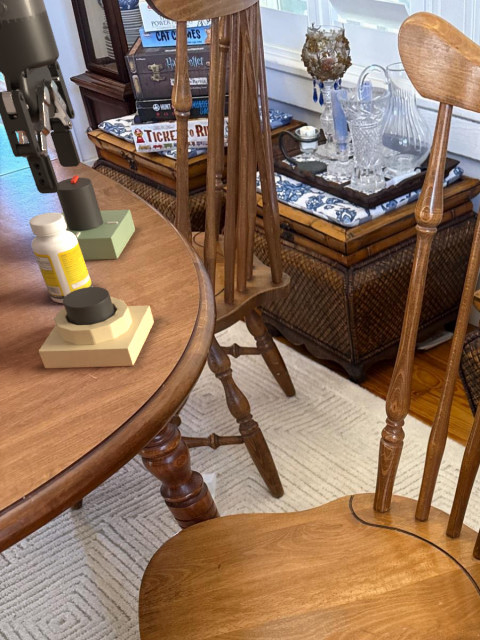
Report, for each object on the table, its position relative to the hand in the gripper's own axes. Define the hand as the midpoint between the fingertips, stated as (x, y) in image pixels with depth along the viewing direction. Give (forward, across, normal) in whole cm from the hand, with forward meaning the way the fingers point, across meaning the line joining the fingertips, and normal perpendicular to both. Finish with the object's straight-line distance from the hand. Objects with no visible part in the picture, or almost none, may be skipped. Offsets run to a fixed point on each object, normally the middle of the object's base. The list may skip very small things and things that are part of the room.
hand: (60, 178), depth 89 cm
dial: (+12, -18, -6) cm, 22 cm away
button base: (+15, +11, +3) cm, 19 cm away
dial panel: (+15, -18, -6) cm, 24 cm away
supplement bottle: (+15, -2, -4) cm, 16 cm away
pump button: (+11, +11, +3) cm, 16 cm away
